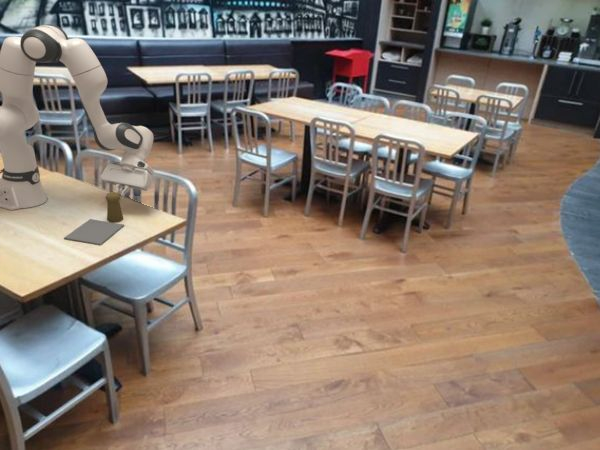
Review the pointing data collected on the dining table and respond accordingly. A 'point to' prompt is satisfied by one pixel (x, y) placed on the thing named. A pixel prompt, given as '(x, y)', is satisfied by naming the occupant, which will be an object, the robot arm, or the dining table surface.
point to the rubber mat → (94, 232)
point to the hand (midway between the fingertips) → (119, 195)
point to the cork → (113, 208)
